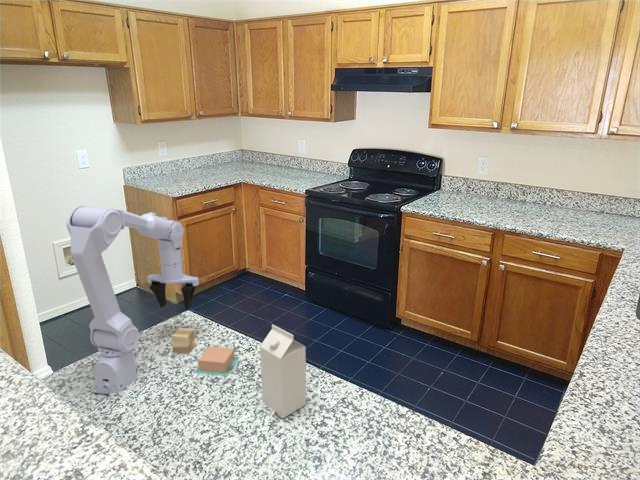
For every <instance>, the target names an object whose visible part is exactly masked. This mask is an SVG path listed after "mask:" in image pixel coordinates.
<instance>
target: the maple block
mask: <svg viewBox="0 0 640 480" xmlns="http://www.w3.org/2000/svg"><path fill="white" fill-rule="evenodd" d="M195 334H196V333H195V329H194V328H181V327H179V328H178V329H177V330H175V332H173V334H172V335H171V345H172V353H174V354H184V355H185V354H187V355H189V354H190V353H191V352H192V351H193V350H194V349H195V348H196V346H197V345H196V344H197V343H196V335H195Z"/></svg>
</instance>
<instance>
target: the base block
mask: <svg viewBox="0 0 640 480" xmlns="http://www.w3.org/2000/svg"><path fill="white" fill-rule="evenodd" d="M235 357H236V356H235V348H230V347H221V346H220V347H219V346H208V347H207V349H206V350H205V351H204V352H203V353H202V354H201V356H200V357H199V358H198V359H197V365H198V366H199V371H206V372H216V373H226V371H227V370H228V368H229V367H230V365H231V364H232V362H233V361H234V359H235ZM198 366H197V367H198Z"/></svg>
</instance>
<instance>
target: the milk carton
mask: <svg viewBox="0 0 640 480" xmlns="http://www.w3.org/2000/svg"><path fill="white" fill-rule="evenodd" d="M259 349H260V372H261V373H260V374H261V391H262V392H261V395H262V403H263V404H265V405H266V406H268V407H269V408H271V410H273V411H275V413H274V414H275V415H277V416H278V417H279V418H281V419H284V418H286V417H288V416H289V415H291V414H292V413H294V412H296V411H298V410H300V409H301V408H303V407H304V406H306V405H307V371H306V368H307V367H306V362H307V361H306V358H307V357H306V346H305V345H303V344H302V343H300V342H298V341H296V340H295V339H294V334H292V333H290V332H288V331H286V330H284V329H282V328H281V327H278V326H277V325H274V324H271V330H270V331H269V332H268V334H267V335H266V337H265V338H264V340H263V342H262V343H261V344H260V347H259Z"/></svg>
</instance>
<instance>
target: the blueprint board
mask: <svg viewBox="0 0 640 480" xmlns="http://www.w3.org/2000/svg"><path fill="white" fill-rule="evenodd" d="M239 359H240V356H235V359H234V361H233V362H232V364H231V365H230V367H229V368H228V370H227V371H226V373H216V372H206V371H199V366H197V367H196V368H195V370H194V371H193V373H194V374H202V375H203V374H204V375H211V376H213V375H214V376H221V377H228V376H229V374H231V371H232V370H233V368H234V367H235V365H236V363H237V362H238V361H239Z"/></svg>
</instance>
